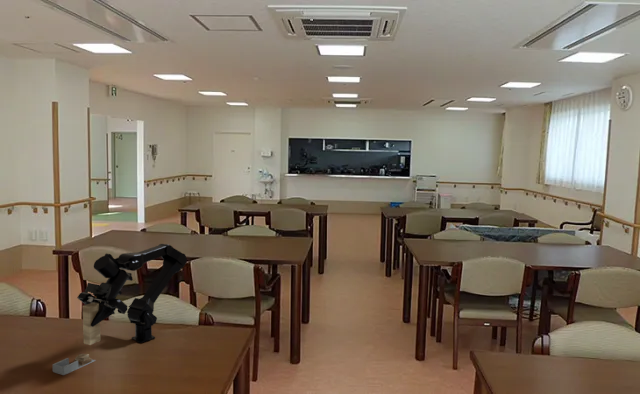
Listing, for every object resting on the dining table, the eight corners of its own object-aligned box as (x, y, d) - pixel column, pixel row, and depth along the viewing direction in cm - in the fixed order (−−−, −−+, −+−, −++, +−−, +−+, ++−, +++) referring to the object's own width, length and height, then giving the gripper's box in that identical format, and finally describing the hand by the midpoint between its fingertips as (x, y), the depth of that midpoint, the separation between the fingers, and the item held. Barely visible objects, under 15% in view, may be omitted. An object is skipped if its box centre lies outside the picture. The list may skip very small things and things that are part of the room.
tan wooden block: (94, 339, 165) (93, 302, 164) (100, 340, 164) (99, 303, 162) (83, 343, 161) (82, 305, 160) (89, 345, 160) (88, 307, 158)
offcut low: (83, 359, 162) (83, 355, 162) (91, 361, 160) (91, 358, 160) (73, 363, 159) (73, 359, 159) (82, 365, 157) (82, 362, 157)
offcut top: (80, 356, 161) (80, 353, 161) (89, 357, 161) (89, 354, 160) (75, 360, 158) (75, 357, 158) (84, 361, 158) (83, 357, 158)
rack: (85, 361, 163) (85, 350, 163) (95, 364, 161) (95, 353, 161) (52, 376, 153) (52, 364, 152) (63, 379, 150) (63, 367, 150)
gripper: (81, 269, 167) (53, 309, 159) (120, 276, 160) (92, 318, 151) (100, 285, 175) (74, 324, 167) (138, 293, 168) (113, 334, 159)
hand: (88, 325), depth 160 cm, fingers closed on tan wooden block, 3 cm apart
